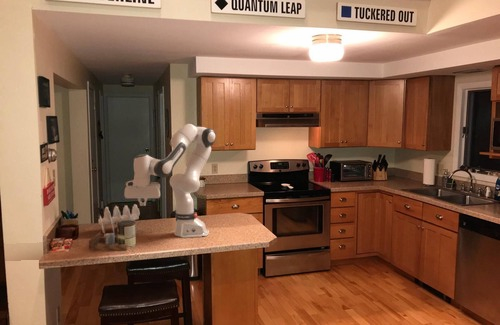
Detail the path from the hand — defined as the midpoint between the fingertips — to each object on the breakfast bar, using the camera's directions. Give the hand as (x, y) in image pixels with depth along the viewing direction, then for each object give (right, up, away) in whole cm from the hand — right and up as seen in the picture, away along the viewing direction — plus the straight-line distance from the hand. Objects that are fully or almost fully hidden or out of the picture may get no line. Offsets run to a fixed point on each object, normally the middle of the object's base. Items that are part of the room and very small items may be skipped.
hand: (142, 205), depth 230 cm
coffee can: (-10, -24, +2) cm, 26 cm away
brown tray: (-19, -24, +2) cm, 30 cm away
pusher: (-21, -24, +2) cm, 32 cm away
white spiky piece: (-25, -21, +33) cm, 46 cm away
